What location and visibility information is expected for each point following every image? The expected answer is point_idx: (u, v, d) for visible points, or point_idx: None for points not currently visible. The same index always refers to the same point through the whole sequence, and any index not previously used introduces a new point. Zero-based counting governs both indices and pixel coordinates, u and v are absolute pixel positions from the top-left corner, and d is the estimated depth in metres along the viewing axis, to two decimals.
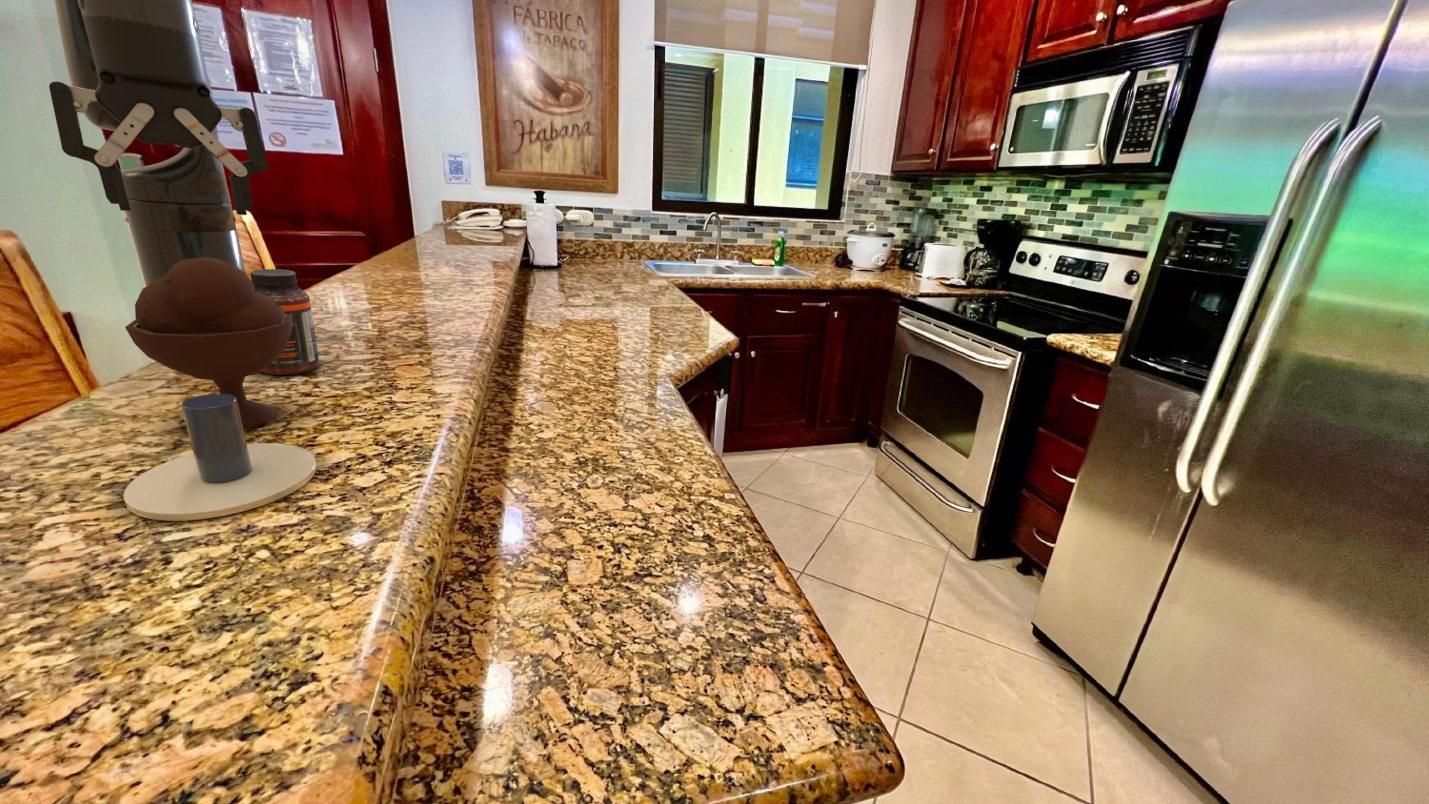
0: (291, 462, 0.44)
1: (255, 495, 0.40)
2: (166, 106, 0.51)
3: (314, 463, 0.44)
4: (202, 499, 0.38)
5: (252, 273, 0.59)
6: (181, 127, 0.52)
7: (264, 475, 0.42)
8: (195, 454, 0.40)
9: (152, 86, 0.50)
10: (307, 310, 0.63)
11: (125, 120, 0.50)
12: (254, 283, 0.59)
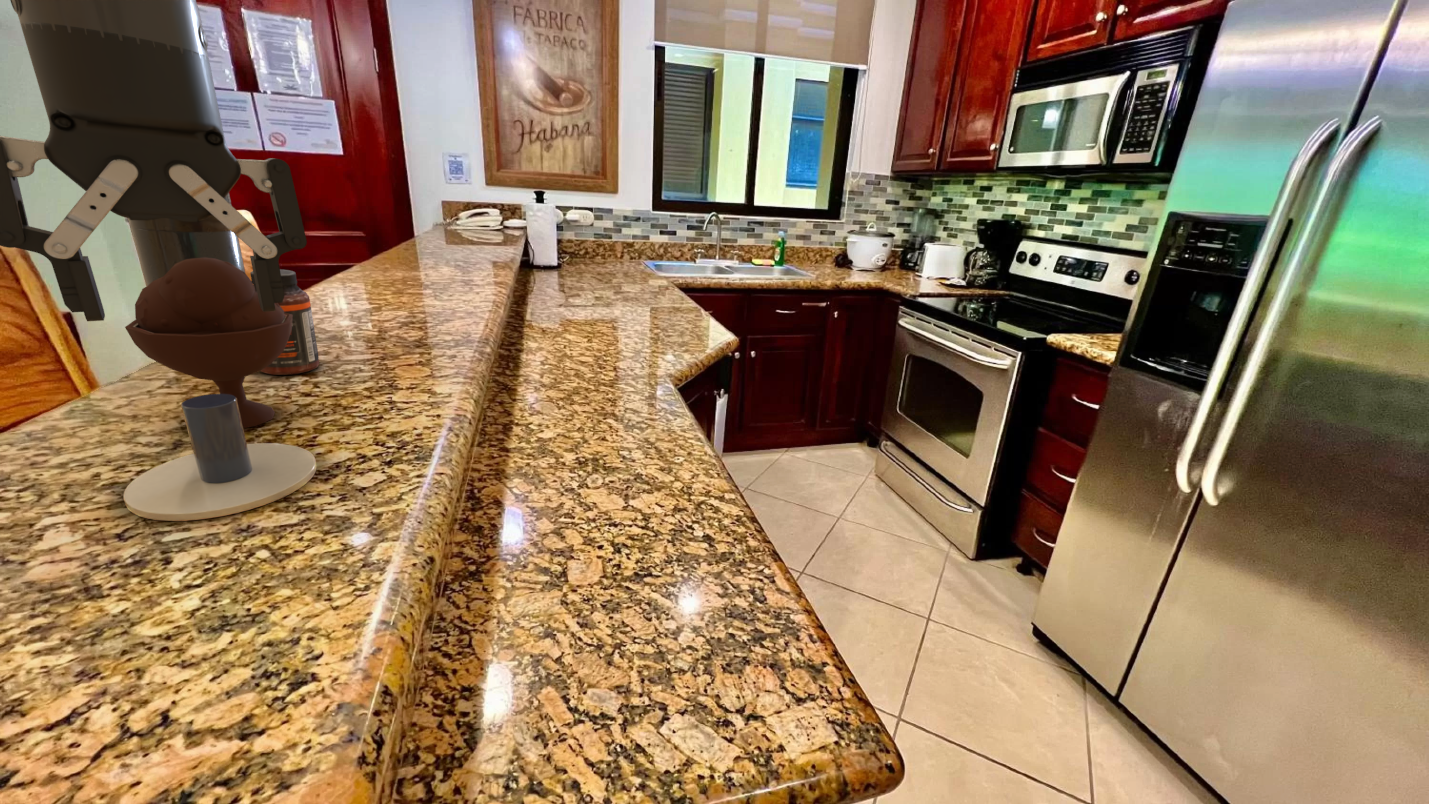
0: (291, 462, 0.44)
1: (255, 495, 0.40)
2: (157, 162, 0.33)
3: (314, 463, 0.44)
4: (202, 499, 0.38)
5: (252, 273, 0.59)
6: (180, 192, 0.35)
7: (264, 475, 0.42)
8: (195, 454, 0.40)
9: (135, 133, 0.32)
10: (307, 310, 0.63)
11: (92, 187, 0.32)
12: (254, 283, 0.59)
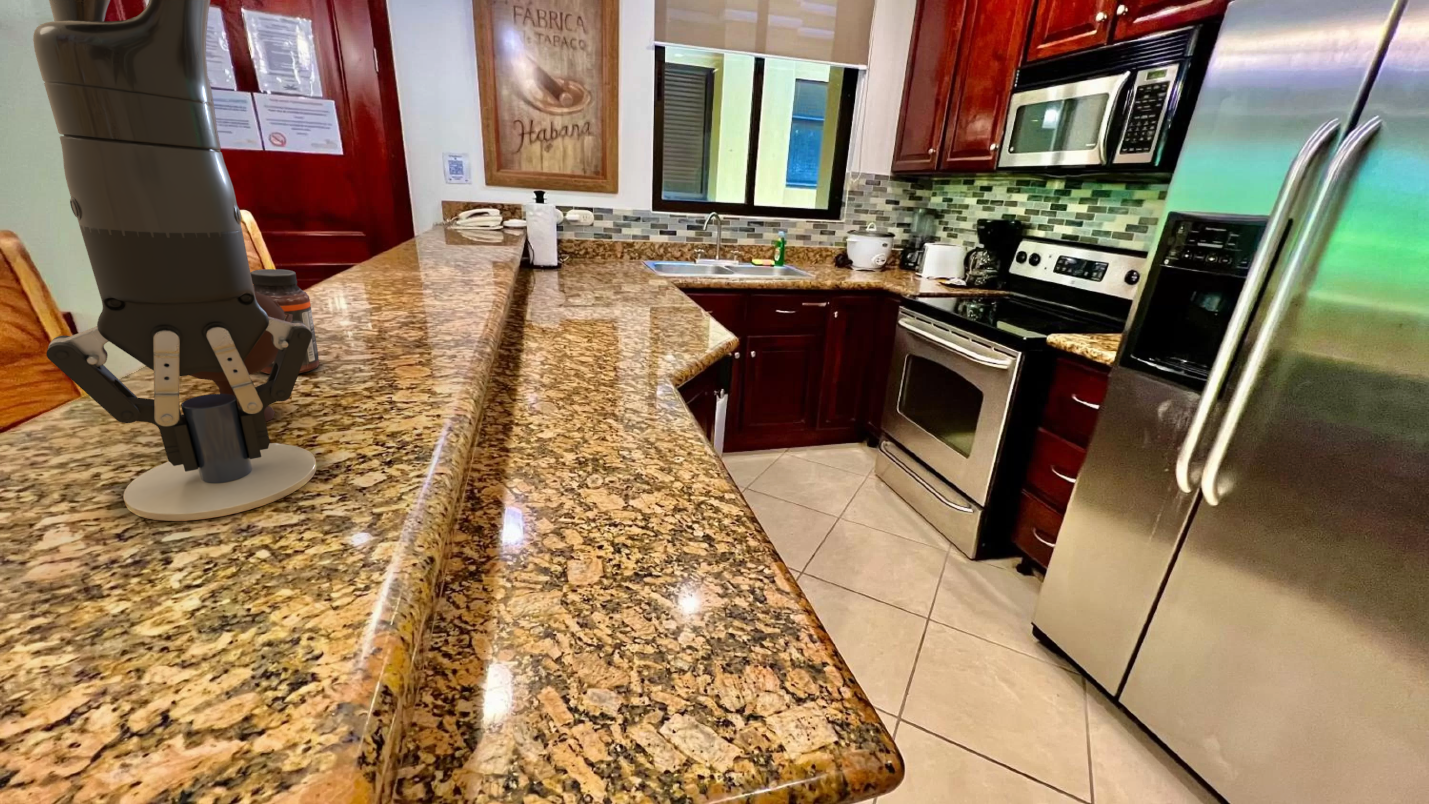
0: (291, 462, 0.44)
1: (255, 495, 0.40)
2: (196, 325, 0.37)
3: (314, 463, 0.44)
4: (202, 499, 0.38)
5: (252, 273, 0.59)
6: None
7: (264, 475, 0.42)
8: (195, 454, 0.40)
9: (177, 304, 0.36)
10: (307, 310, 0.63)
11: (155, 363, 0.36)
12: (254, 283, 0.59)
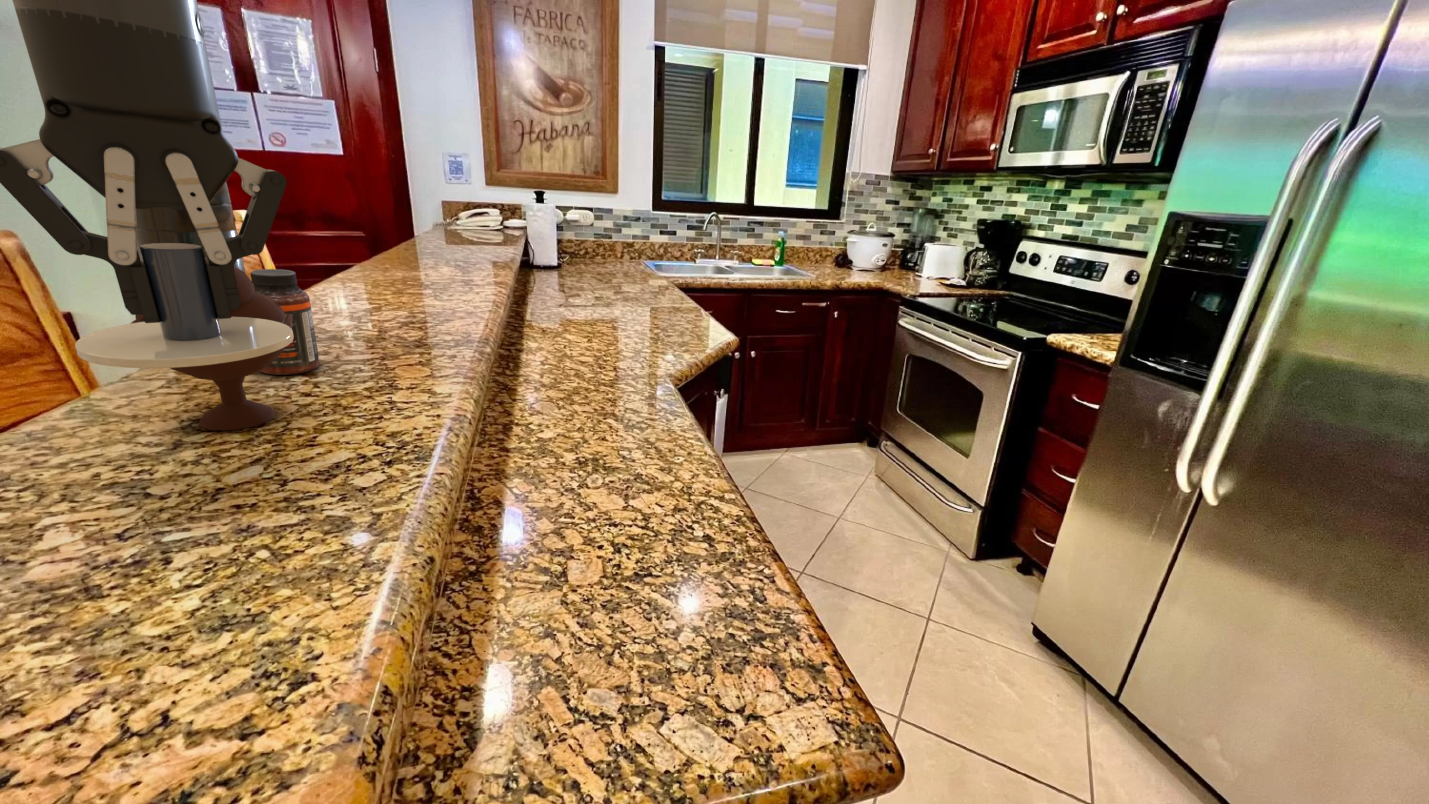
0: (265, 330, 0.40)
1: (222, 350, 0.36)
2: (153, 150, 0.33)
3: (291, 333, 0.41)
4: (163, 350, 0.35)
5: (252, 273, 0.59)
6: None
7: (234, 338, 0.38)
8: (156, 305, 0.36)
9: (131, 120, 0.32)
10: (307, 310, 0.63)
11: (107, 186, 0.32)
12: (254, 283, 0.59)
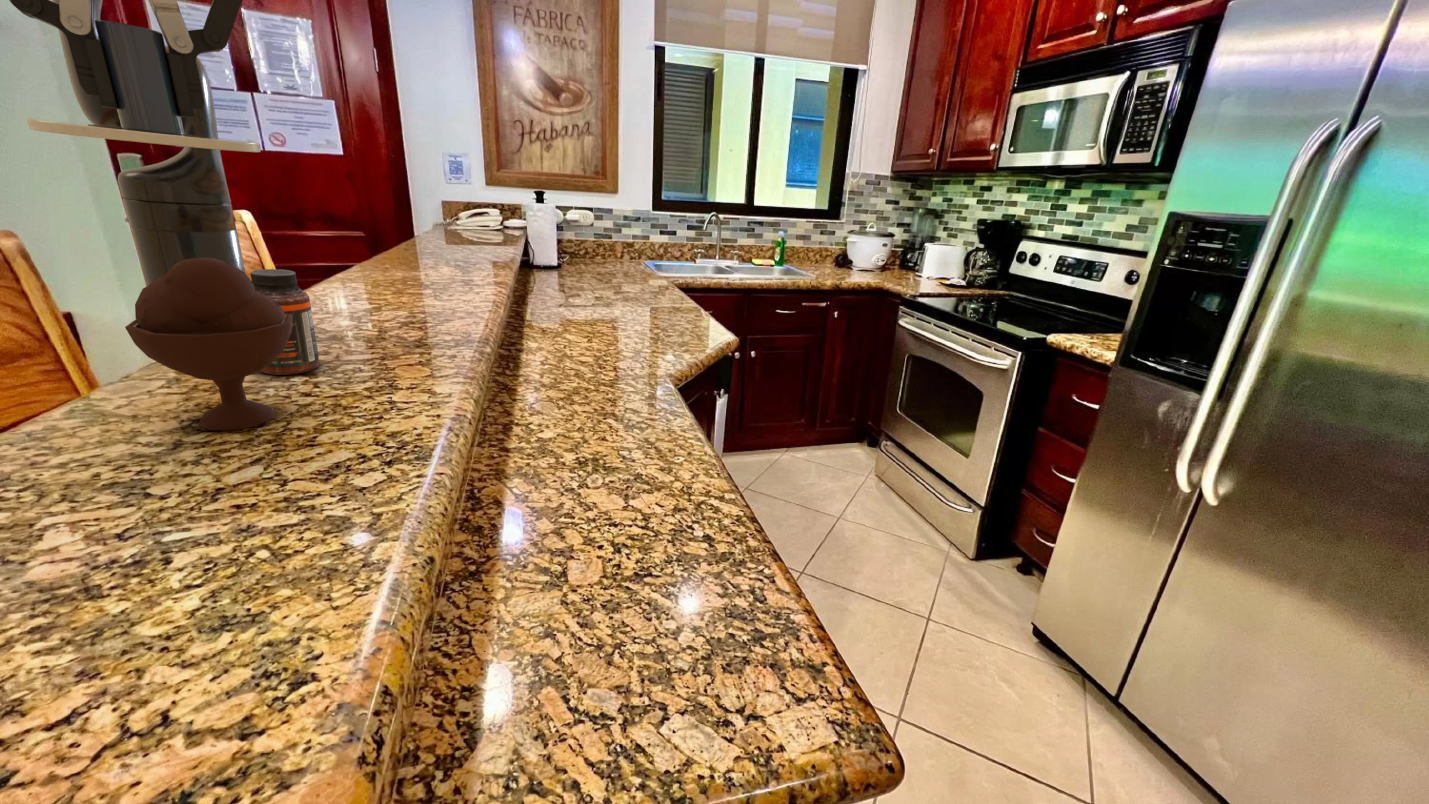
0: None
1: None
2: None
3: (257, 143, 0.39)
4: None
5: (252, 273, 0.59)
6: None
7: None
8: (113, 89, 0.35)
9: None
10: (307, 310, 0.63)
11: None
12: (254, 283, 0.59)
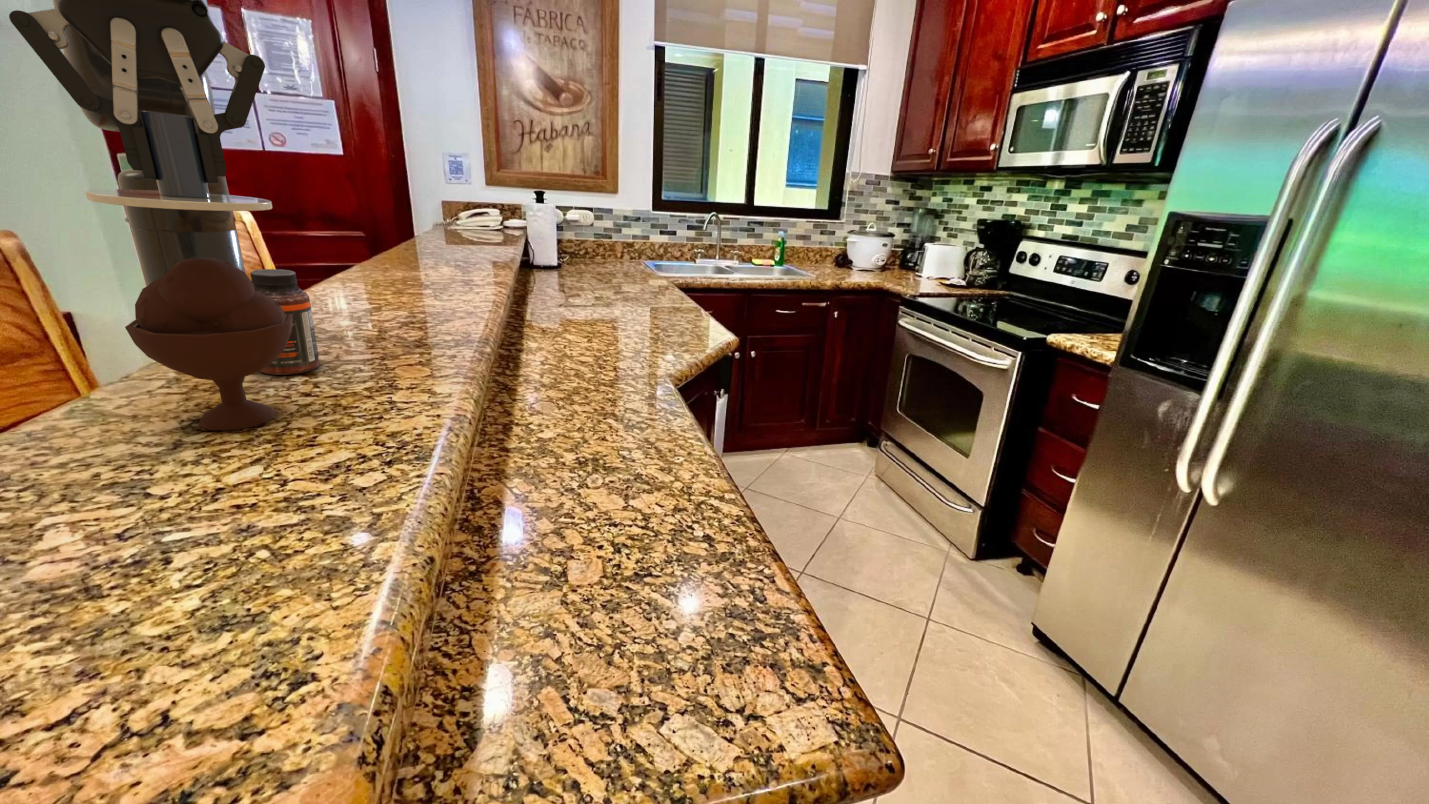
0: (248, 199, 0.47)
1: (210, 201, 0.42)
2: (151, 26, 0.40)
3: (270, 202, 0.47)
4: (159, 198, 0.41)
5: (252, 273, 0.59)
6: None
7: (221, 199, 0.45)
8: (154, 164, 0.43)
9: None
10: (307, 310, 0.63)
11: (113, 51, 0.39)
12: (254, 283, 0.59)
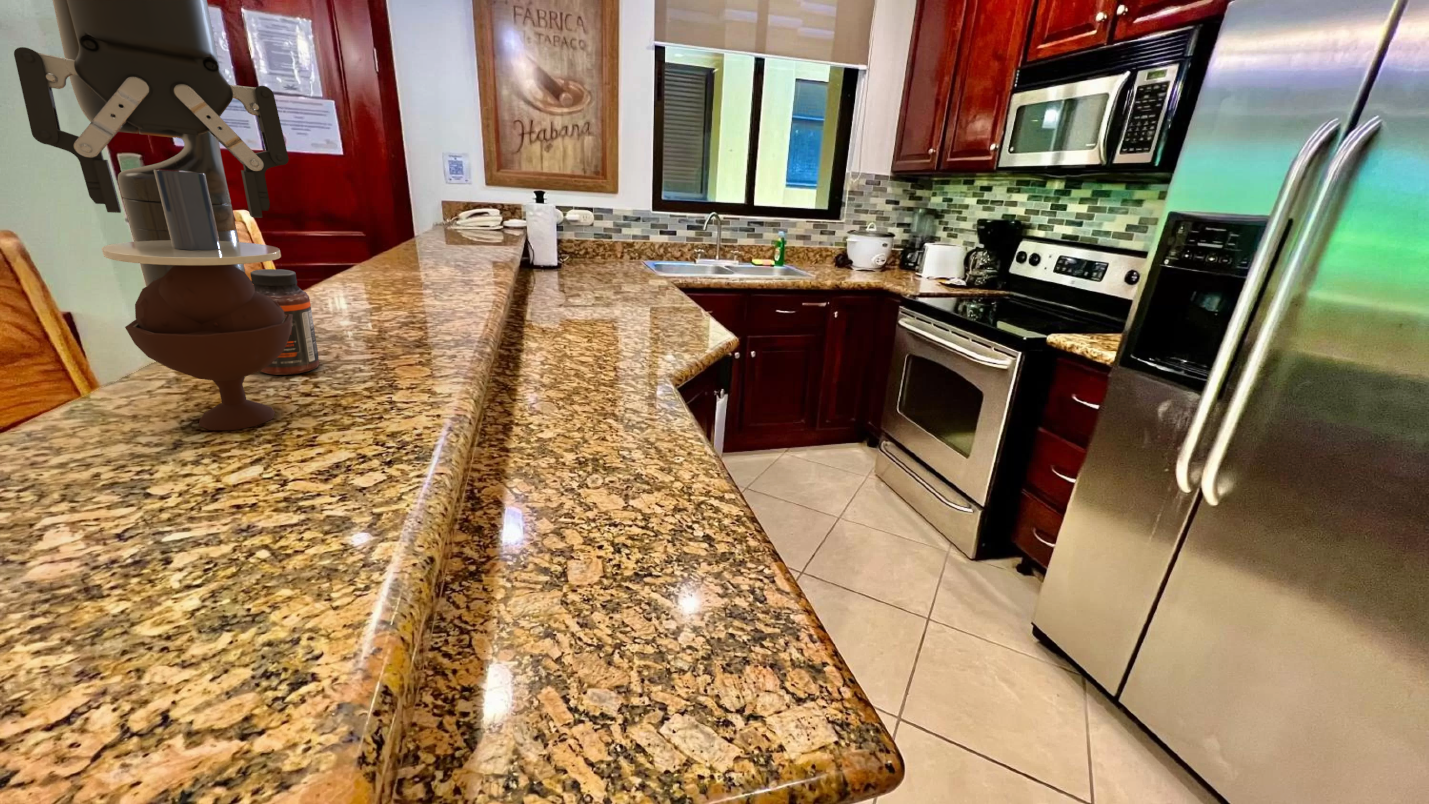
0: (257, 249, 0.48)
1: (221, 256, 0.44)
2: (164, 82, 0.41)
3: (278, 251, 0.49)
4: (173, 253, 0.43)
5: (252, 273, 0.59)
6: (183, 109, 0.42)
7: (231, 251, 0.46)
8: (167, 220, 0.44)
9: (147, 56, 0.40)
10: (307, 310, 0.63)
11: (112, 98, 0.39)
12: (254, 283, 0.59)
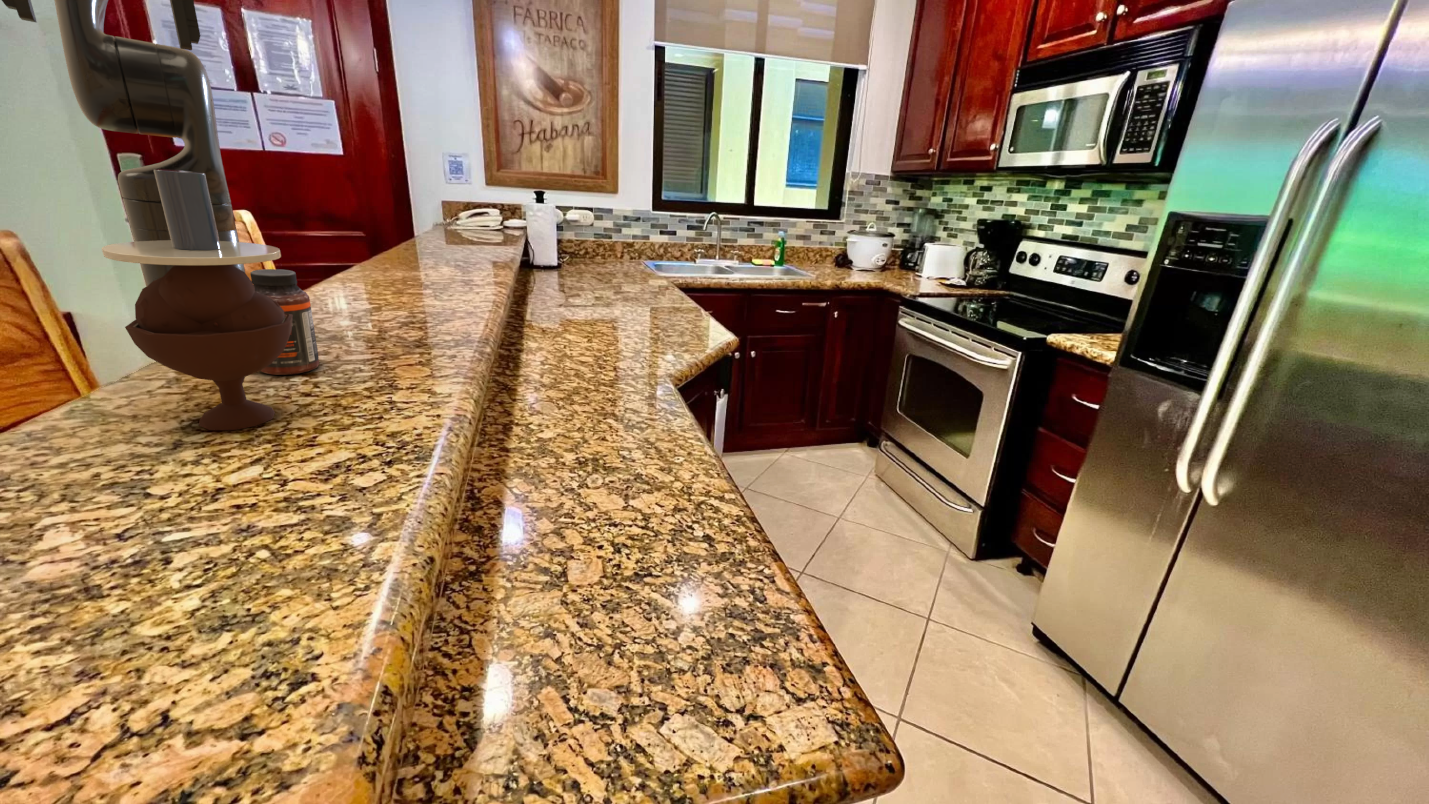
0: (257, 249, 0.48)
1: (221, 256, 0.44)
2: None
3: (278, 251, 0.49)
4: (173, 253, 0.43)
5: (252, 273, 0.59)
6: None
7: (231, 251, 0.46)
8: (167, 220, 0.44)
9: None
10: (307, 310, 0.63)
11: None
12: (254, 283, 0.59)
